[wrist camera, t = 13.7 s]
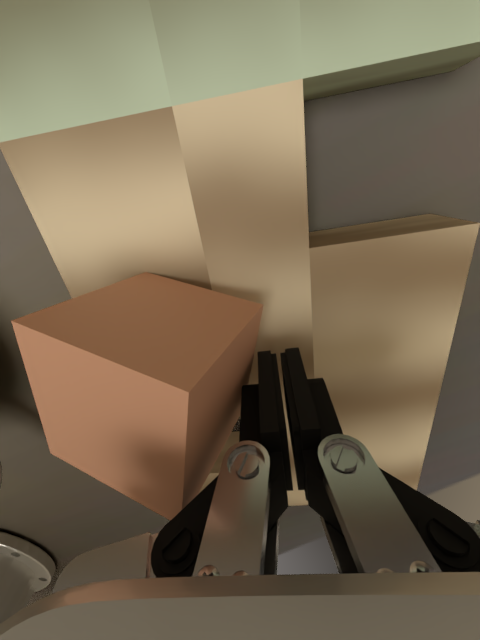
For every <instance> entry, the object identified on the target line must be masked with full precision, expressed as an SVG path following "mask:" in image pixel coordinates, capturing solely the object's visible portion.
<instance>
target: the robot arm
mask: <svg viewBox="0 0 480 640" xmlns="http://www.w3.org/2000/svg"><path fill="white" fill-rule="evenodd" d="M257 354H258V384H251V385H243V386H242V391H241V412H240V433H239V442H238V443H236V444H234V445H233V446H231V447H230V448H229V449H228V451H227V452H226V453H225V455H224V458H223V460H222V464H221V468H220V472H219V475H218V476H217V477H216V478H215V479H214V480H213V481H212V482H211V483H210V484H209V485H207V486H206V487H205V488H204V489H203V490H202V491H201V492H200V493H199V494H198V495H197V496H196V497H195V498H194V499H193V500H192V501H191V502H190V503H188V504H187V505H186V506H185V507H184V508H183V509H182V510H181V511H180V512H179V513H178V514H177V515H176V516H175V517H174V518H173V519H172V520H171V521H170V522H168V523H167V524H166V525H165V526H164V528H163V529H162V530H161V531H160V532H159V533H156V534H153V535H151V534H150V532H147V533H144V534H141V535H138V536H135V537H131V538H128V539H125V540H122V541H119V542H115V543H112V544H109V545H106V546H103V547H99V548H96V549H93V550H90V551H87V552H84V553H82V554H80V555H78V556H76V557H75V558H74V559H73V560H72V561H71V562H70V563H68V564H67V565H66V567H65V568H64V570H63V571H62V572H61V574H60V575H59V577H58V579H57V581H56V583H55V586H54V588H53V591H52V594H51V595H49V596H46V597H44V598H42V599H39V600H37V601H36V602H34V603H32V604H30V605H29V606H27V604H28V603H29V601H30V599H31V597H32V595H33V593H34V592H36V591H39V590H42V589H44V588H45V587H46V586H48V585H49V583H50V581H51V579H52V577H53V576H54V574H55V570H56V568H55V563H54V561H53V560H52V558H51V557H50V556H49V555H48V554H47V553H46V552H45V551H43V550H42V549H41V548H39V547H38V546H36V545H34V544H32V543H31V542H29V541H26V540H24V539H22V538H20V537H17V536H14V535H11V534H8V533H5V532H1V531H0V640H480V520H477V521H476V524H475V523H470V522H465V521H464V520H463V519H461V518H460V517H459V516H457V515H456V514H454V513H453V512H451V511H449V510H448V509H446V508H445V507H443V506H441V505H440V504H438V503H436V502H434V501H433V500H431V499H430V498H428V497H427V496H425V495H423V494H422V493H420V492H418V491H417V490H415V489H413V488H412V487H410V486H409V485H407V484H405V483H404V482H402V481H400V480H399V479H397V478H395V477H394V476H392V475H390V474H389V473H387V472H386V471H384V470H382V469H381V468H379V467H378V466H377V464H376V462H375V461H374V459H373V457H372V456H371V454H370V452H369V451H368V449H367V448H366V447H365V446H364V444H363V443H361V442H360V441H359V440H357V439H356V438H353V437H351V436H349V435H344V434H343V432H342V429H341V426H340V423H339V420H338V418H337V415H336V412H335V409H334V406H333V404H332V401H331V398H330V395H329V392H328V390H327V387H326V384H325V381H324V379H323V378H315V379H307V376H306V373H305V369H304V365H303V362H302V358H301V354H300V351H299V348H298V347H297V348H287V349H285V352H283V353H280V356H281V365H282V375H283V385H284V394H285V403H286V411H287V418H288V424H289V431H290V438H291V445H292V451H293V458H294V465H295V472H296V478H297V485H298V490H304V491H305V497H306V501H308V505H309V506H310V507H311V508H312V509H314V510H315V511H316V512H317V513H318V514H319V515H320V518H321V522H322V525H323V528H324V531H325V534H326V537H327V540H328V543H329V545H330V549H331V551H332V554H333V557H334V560H335V563H336V566H337V569H338V572H339V574H300V575H277V562H278V543H279V524H280V522H279V517H280V516H281V515H282V513H283V512H284V511H285V510H286V508H287V507H288V496H287V491H293V484H292V474H291V465H290V456H289V447H288V438H287V429H286V421H285V414H284V407H283V400H282V392H281V385H280V378H279V371H278V363H277V356H276V353H274V354H271V350H269V351H259V352H257ZM26 606H27V607H26Z"/></svg>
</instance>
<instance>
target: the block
mask: <svg viewBox="0 0 480 640" xmlns="http://www.w3.org/2000/svg"><path fill="white" fill-rule="evenodd" d="M262 310H263V304H259V303H255V302H252V301H248V300H245V299H241V298H237V297H234V296H230V295H227V294H223V293H220V292H216V291H212V290H209V289H205V288H202V287H198V286H194V285H191V284H187V283H184V282H180V281H177V280H173V279H169V278H166V277H162V276H159V275H155V274H151V273H148V272H144V273H142V274H139V275H136V276H133V277H131V278H128V279H125V280H122V281H120V282H117V283H114V284H111V285H109V286H106V287H103V288H100V289H97V290H95V291H92V292H89V293H86V294H84V295H81V296H78V297H75V298H73V299H70V300H67V301H64V302H62V303H59V304H56V305H53V306H51V307H48V308H45V309H42V310H40V311H37V312H34V313H31V314H29V315H26V316H23V317H20V318H17V319H15V320H12V321H11V322H12V325H13V329H14V332H15V335H16V339H17V342H18V345H19V349H20V352H21V355H22V359H23V362H24V365H25V369H26V372H27V375H28V379H29V382H30V386H31V389H32V392H33V396H34V399H35V402H36V406H37V409H38V412H39V416H40V419H41V422H42V426H43V429H44V433H45V436H46V439H47V443H48V446H49V449H50V453H51V454H53V455H55V456H56V457H58V458H60V459H62V460H64V461H65V462H67V463H69V464H71V465H72V466H74V467H76V468H78V469H80V470H81V471H83V472H85V473H87V474H88V475H90V476H92V477H94V478H96V479H97V480H99V481H101V482H103V483H104V484H106V485H108V486H110V487H112V488H113V489H115V490H117V491H119V492H120V493H122V494H124V495H126V496H128V497H129V498H131V499H133V500H135V501H136V502H138V503H140V504H142V505H144V506H145V507H147V508H149V509H151V510H152V511H154V512H156V513H158V514H159V515H161V516H163V517H165V518H167V519H168V520H170V521H171V520H172V519H173V518H174V517H175V516H176V515H177V514H178V513H179V512H180V511H181V510H182V509H183V508H184V507H185V506H186V505H187V504H188V503H190V502H191V501H192V500H193V499H194V498H195V497H196V496H197V495H198V494H199V492H200V490H201V488H202V486H203V484H204V483H205V481H206V479H207V477H208V475H209V473H210V471H211V469H212V467H213V466H214V464H215V462H216V460H217V458H218V456H219V454H220V452H221V450H222V449H223V447H224V445H225V443H226V441H227V439H228V437H229V435H230V433H231V432H232V430H233V428H234V426H235V424H236V422H237V420H238V418H239V416H240V412H241V391H242V386H243V385H248V384H249V379H250V373H251V368H252V363H253V358H254V352H255V347H256V342H257V336H258V331H259V326H260V321H261V315H262Z"/></svg>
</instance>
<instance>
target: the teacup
mask: <svg viewBox="0 0 480 640" xmlns="http://www.w3.org/2000/svg"><path fill="white" fill-rule="evenodd" d="M1 483H2V466H1V462H0V487H1Z"/></svg>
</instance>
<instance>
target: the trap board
mask: <svg viewBox="0 0 480 640" xmlns="http://www.w3.org/2000/svg"><path fill="white" fill-rule="evenodd" d="M478 57H480V0H0V149H1V151H2V153H3V155H4V157H5V159H6V161H7V163H8V165H9V168H10V170H11V172H12V174H13V176H14V178H15V180H16V182H17V184H18V186H19V188H20V191H21V193H22V195H23V197H24V199H25V201H26V203H27V205H28V207H29V209H30V212H31V214H32V216H33V218H34V220H35V222H36V224H37V226H38V228H39V230H40V232H41V235H42V237H43V239H44V241H45V243H46V245H47V247H48V249H49V251H50V253H51V255H52V258H53V260H54V262H55V264H56V266H57V268H58V270H59V272H60V274H61V276H62V279H63V281H64V283H65V285H66V287H67V289H68V291H69V293H70V295H71V297H72V299H73V298H75V297H78V296H81V295H84V294H86V293H89V292H92V291H95V290H97V289H100V288H103V287H106V286H109V285H111V284H114V283H117V282H120V281H122V280H125V279H128V278H131V277H133V276H136V275H139V274H142V273H144V272H148V273H151V274H155V275H159V276H162V277H166V278H169V279H173V280H177V281H180V282H184V283H187V284H191V285H194V286H198V287H202V288H205V289H209V290H212V291H216V292H220V293H223V294H227V295H230V296H234V297H237V298H241V299H245V300H248V301H252V302H255V303H259V304H263V310H262V315H261V321H260V326H259V331H258V336H257V342H256V347H255V352H254V358H253V363H252V368H251V373H250V379H249V384H248V385H251V384H258V354H257V352H259V351H269V350H271V354H274V353H276V356H277V363H278V371H279V378H280V385H281V392H282V400H283V407H284V414H285V421H286V429H287V438H288V447H289V456H290V465H291V474H292V484H293V491H287V496H288V506H298V505H308V501H306V497H305V491H304V490H298V485H297V478H296V472H295V465H294V458H293V451H292V445H291V438H290V431H289V424H288V418H287V411H286V403H285V394H284V385H283V375H282V365H281V356H280V353H283V352H285V349H287V348H297V347H298V348H299V351H300V354H301V358H302V362H303V365H304V369H305V373H306V376H307V379H315V378H323V379H324V381H325V384H326V387H327V390H328V392H329V395H330V398H331V401H332V404H333V406H334V409H335V412H336V415H337V418H338V420H339V423H340V426H341V429H342V432H343V434H344V435H349V436H351V437H353V438H356V439H357V440H359V441H360V442H361V443H363V444H364V446H365V447H366V448H367V449H368V451H369V452H370V454H371V456H372V457H373V459H374V461H375V462H376V464H377V466H378V467H379V468H381V469H382V470H384V471H386V472H387V473H389V474H390V475H392V476H394V477H395V478H397V479H399V480H400V481H402V482H404V483H405V484H407V485H409V486H410V487H412V488H413V489H415V490H417V486H418V482H419V478H420V474H421V470H422V465H423V461H424V457H425V453H426V448H427V444H428V440H429V436H430V432H431V427H432V423H433V419H434V415H435V411H436V406H437V402H438V398H439V394H440V389H441V385H442V381H443V377H444V373H445V368H446V364H447V360H448V356H449V352H450V347H451V343H452V339H453V335H454V330H455V326H456V322H457V318H458V314H459V309H460V305H461V301H462V297H463V292H464V288H465V284H466V280H467V276H468V271H469V267H470V263H471V259H472V255H473V250H474V246H475V242H476V238H477V233H478V229H479V225H480V223H477V222H471V221H466V220H461V219H456V218H450V217H445V216H440V215H434V214H425V215H418V216H412V217H405V218H399V219H392V220H386V221H379V222H373V223H366V224H360V225H353V226H347V227H340V228H334V229H327V230H321V231H314V232H309V228H308V203H307V177H306V152H305V126H304V101H307V100H312V99H317V98H322V97H327V96H332V95H337V94H342V93H347V92H352V91H357V90H362V89H367V88H372V87H376V86H381V85H386V84H391V83H396V82H401V81H406V80H411V79H416V78H421V77H426V76H431V75H436V74H441V73H446V72H451V71H453V70H455V69H457V68H459V67H461V66H463V65H465V64H466V63H468V62H470V61H472V60H474V59H476V58H478ZM239 417H240V416H239ZM239 433H240V431H235V432H231V433H230V435H229V437H228V439H227V441H226V443H225V445H224V447H223V449H222V450H221V452H220V454H219V456H218V458H217V460H216V462H215V464H214V466H213V467H212V469H211V471H210V473H209V475H208V477H207V479H206V481H205V483H204V484H203V486H202V488H201V490H200V492H201V491H202V490H203V489H204V488H205V487H206V486H207V485H209V484H210V483H211V482H212V481H213V480H214V479H215V478H216V477H217V476H218V475H219V472H220V468H221V464H222V460H223V458H224V455H225V453H226V452H227V451H228V449H229V448H230V447H231V446H233V445H234V444H236V443H238V442H239ZM200 492H199V493H200Z"/></svg>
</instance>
